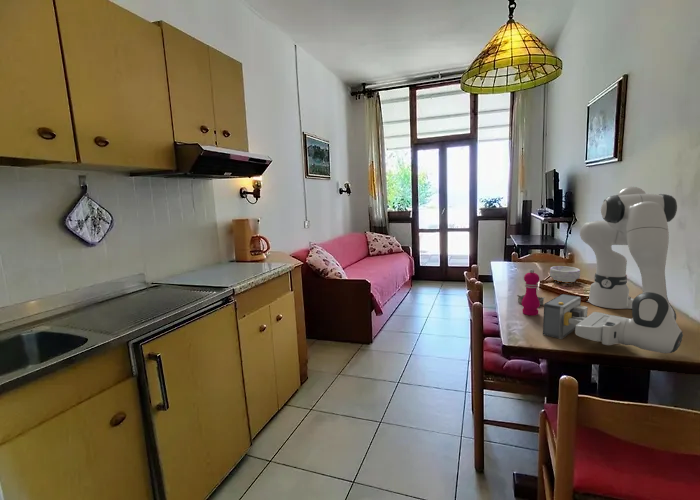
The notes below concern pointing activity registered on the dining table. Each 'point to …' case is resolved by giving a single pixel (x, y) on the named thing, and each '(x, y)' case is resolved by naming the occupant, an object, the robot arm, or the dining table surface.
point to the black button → (576, 312)
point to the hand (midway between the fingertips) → (569, 319)
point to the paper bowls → (565, 273)
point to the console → (559, 315)
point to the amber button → (567, 318)
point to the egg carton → (524, 295)
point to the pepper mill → (531, 294)
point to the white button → (583, 310)
